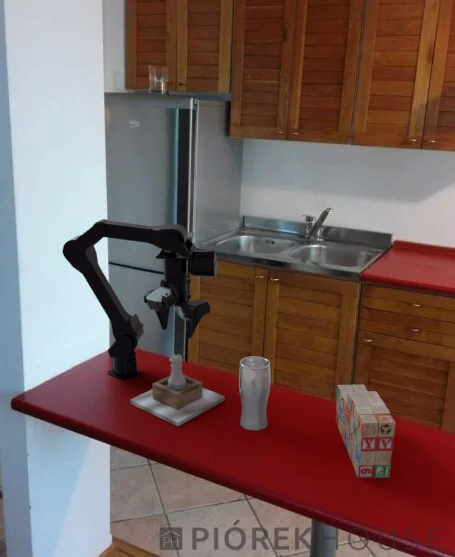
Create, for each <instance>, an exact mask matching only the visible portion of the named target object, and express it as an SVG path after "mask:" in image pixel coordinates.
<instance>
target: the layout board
mask: <svg viewBox="0 0 455 557" xmlns="http://www.w3.org/2000/svg"><path fill="white" fill-rule="evenodd" d="M170 376H171V374H169V376H166V377H164V378H161V379H160V380H157V381H156V382H153V383H152V385H151V386H152V387H151V389H150V390H148V391H146V392H144V393H141V394H139V395H137V396H135V397H133V398H131V399H129V401H130V402H129V403H130V405H132V406H135V407H136V408H139V409H140V410H143V411H144V412H146V413H149V414H150V415H153V416H155V417H157V418H159V419H162V420H164V421H165V422H168V423H169V424H172V425H174V426H175V427H180V426H181V425H183V424H186V423H187V422H190V420H192V419H195V417H198V416H199V415H202V413H204V412H205V413H206V412H207V411H208V410H210V409H211V408H213V407H215V406H217V405H219V404H221V403H222V402H224V401H225V399H226V398H225V395H222V394H220V393H217V392H215V391H212V390H209V389H207V388H204V387H203V381H200V380H198V379H195V378H193V377H191V376H188V375H185V374H183V376H184V378H185V380H186V386H185V388H183V389H181V390H173V389H171V388H169V387H168V384H169V383H168V379H169V378H170Z"/></svg>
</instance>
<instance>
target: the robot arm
mask: <svg viewBox="0 0 455 557" xmlns="http://www.w3.org/2000/svg"><path fill="white" fill-rule="evenodd" d="M103 238H108V239H114V240H115V239H116V240H123V241H130V242H139V243H144V244H148V245H149V244H150V245H153V246H155V248H158V249H161V250H160V251H159V252H158V254H157V255H156V256H155V259H156V260H163V266H164V268H163V271H164V276H163V277H164V278H163V279H161V280H160V284H159V285H160V286H159V287H157V288H154V289H150V290H148V291H146V292H145V294H144V295H143V302H144V303H145V304H147V306H148V307H149V309H150V310H154V312H155V314H156V316H157V319H158V321H159V324H160V327H161V329H162V331H165V330H167V327H168V323H169V317H170V308H172V307H173V306H175V307H179V308H182V310H183V311H182V312H183V314H184V315H182V317H183V319H185V321H186V336H187V338H188V339H189V340H190V339H192V337H193V336H194V335H195V331H196V329H197V327H198V325H199V324H200V321H201V320H202V318H203V317H205V316H206V315H207V314H210V313H211V304H210V303H209V301H205V300H203V299H200V298H197V299H194V300H191V301H189V299H191V298H192V295H191V294H190V293H188V284H191V283H192V282H191V278H188V273H189V274H190V275H192V276H193V278H194V277H196V278H216V277H217V274H218V273H217V272H218V260H217V255H216V254H217V253H216V252H217V251H216V250H215V249H208V250H206V249H198V250H197V247H196V245H195V244H194V243H193V242H192V240H191V239H190V237H189V233H188V230H187V229H186V228H185V226H184V225H182V224H179V223H178V224H177V223H176V224H175V223H174V224H163V225H162V224H161V225H152V226H151V225H145V224H144V225H143V224H136V223H129V222H120V221H115V220H108V219H105V218H103V219H100V220H98V221H96V222H94V223H93V225H92V226H91V227H90V228H89V229H87V230H86V231H85V232H83V233H82V234H79V235H76V236H74V237H73V238H71V239H70V240H68V241H66V242H65V243H64V244H63V247H62V249H61V250H62V255H63V257H64V259H66V261H67V262H68V263H69V264H70V266H71V267H72V268H73V269H75V270H76V271H78V272H79V273H80V274H82V276H83V277H84V279H85V281H86V283H87V284H88V286H89V288H90V290H91V291H92V292H93V295H94V296H95V298H96V299H97V301H98V303H99V304H100V306H101V307H102V309H103V311H104V313H105V314H106V316H107V318H108V320H109V321H110V324H111V326H110V327H111V331H112V336H113V338H114V341H113V343H112V344H111V345H110V346H109V347H108V349H107V353H108V355H109V357H110V358H111V369H110V370H108V371H107V374H108V375H110V376H113V377H115V378H117V379H119V380H121V381H122V380H123V381H124V380H127V379H129V378H131V377H133V376H135V375H138V374H140V373H142V370H141V369H139V368H138V359H137V353H136V351H135V349H136V348H137V347H138V345H139V344H140V342H141V341H142V339H143V338H144V335H145V334H144V333H145V331H144V326H145V325H144V324H143V323H142V322H141V321H140V319H139V316H138V314H137V313H134V314H133V315H132V314H130V313H129V312H127V311H126V309H125V308H124V306H123V304H122V302H121V301H120V299H119V298H118V296H117V294H116V292H115V290H114V289H113V287H112V285H111V284H110V282H109V281H108V279H107V277H106V275H105V273H104V272H103V270H102V268H101V267H100V265H99V260H98V254H97V251H96V248H95V245H96V244H97V243H100V241H101V240H102V239H103Z"/></svg>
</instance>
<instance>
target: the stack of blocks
mask: <svg viewBox="0 0 455 557" xmlns="http://www.w3.org/2000/svg"><path fill="white" fill-rule="evenodd" d="M335 408H336V412H335V423H336V426H337V427H338V430H339V433H340V435H341V436H340V437H341V438H342V441H343V443H344V445H345V448H346V450H347V453H348V455H349V459H350V461H351V464H352V467H353V469H354V471H355V472H354V473H355V474H356V477H357V479H389V478H390V474H391V473H390V472H391V467H392V466H391V465H392V464H391V463H392V462H391V461H392V453H393V449H394V440H395V439H394V438H395V430H396V429H395V428H396V421H395V419H394V418H393V416H392V415H391V411H390V410H389V409H388V407H387V405H386V404H385V401H383V399H382V398H381V396H380V395H379V393H378V392H377V391H375V390H374V391H373V390H372V391H371V390H370V391H369V390H368V388H367V387H366V386H365V384H337V386H336V406H335Z"/></svg>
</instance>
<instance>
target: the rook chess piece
mask: <svg viewBox="0 0 455 557" xmlns="http://www.w3.org/2000/svg"><path fill="white" fill-rule="evenodd" d="M182 356H183V355H182V354H180V353H177V354H176V353H173V354H170V358H169V362H170V363H171V364H170V367H171V371H170V375H171V376H170V375H169V376H170V378H169V379H168V383H169V384H168V387H169V388H171V389H173V390H181V389H183V388H185V386H186V380H185V378H184V376H183V375H184V374H183V370H182V367H183V364H182V363H183V362H184V358H183V357H182Z"/></svg>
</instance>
